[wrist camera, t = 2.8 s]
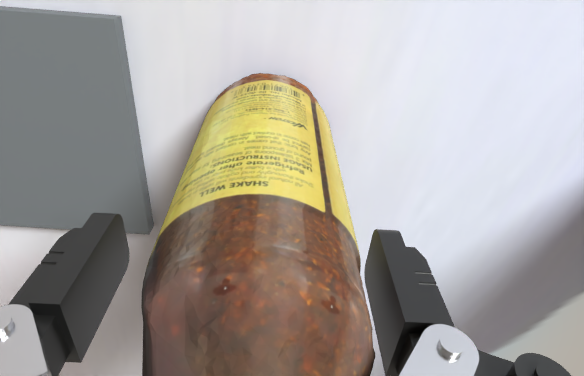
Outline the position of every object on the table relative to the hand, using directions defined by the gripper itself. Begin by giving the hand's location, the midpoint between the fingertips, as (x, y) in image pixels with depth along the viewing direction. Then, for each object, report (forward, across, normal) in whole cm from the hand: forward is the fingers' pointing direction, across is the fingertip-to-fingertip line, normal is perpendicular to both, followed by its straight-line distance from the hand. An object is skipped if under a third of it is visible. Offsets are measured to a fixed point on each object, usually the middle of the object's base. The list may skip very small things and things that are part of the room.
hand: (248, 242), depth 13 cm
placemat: (+9, +14, +1) cm, 17 cm away
